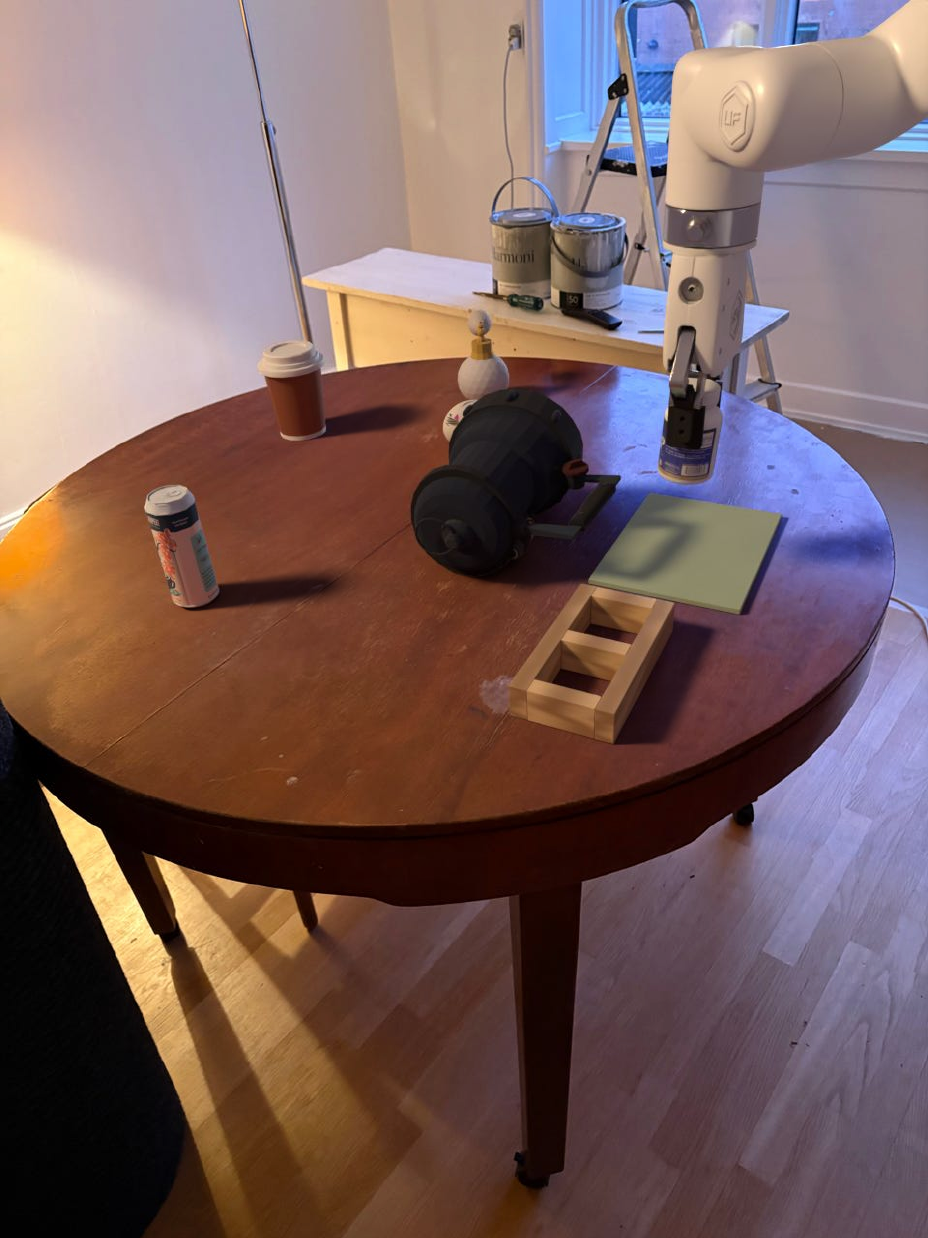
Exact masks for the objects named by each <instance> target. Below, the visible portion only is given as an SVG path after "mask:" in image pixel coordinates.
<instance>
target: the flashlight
mask: <svg viewBox="0 0 928 1238" xmlns="http://www.w3.org/2000/svg"><path fill="white" fill-rule="evenodd" d="M463 416H464V417H463V418H462V420H461V421H460V422H459V424H458V425H457V426H456V428H455V429H454V430H453V433H452V436H451V439H450V442H449V441H448V442H449V443H448V464H444V465H440V466H438V467H435V468H433V469H432V470H430V471H429V472H428V473H426V475H424V476H423V477H422V479H421V480H420V482H419V483H418V485H417V486H416V489H415V490H414V491H413V493H412V498H411V502H410V521H411V525H412V530H413V533H414V538H415V540H416V542H417V544H418V545H419V546H420V547H421V549H422V550H424V552H425V553H426V554H427V555H428V556H429V557H430V558H431V559H432V560H433V561H435V562H436V564H438V565H440V566H442V567H443V568H444V569H447V570H448V571H450V572H452V573H455V574H458V575H461V576H468V577H482V576H489V575H491V574H492V573H495V572H496V571H499V570H500V569H501V568H505V567H506V566H507V565H508V564H509V562H510V561H517V560H519V559H520V558H521V557H522V555H523V554H524V553H526V551H527V550H528V548H529V546H530V544H531V542H532V539H533V538H534V536H537V537H545V538H555V539H565V540H575V538H576V537H577V536H578V535H579V533H581V532H585V531H586V530H587V529H588V528H589V526H590V525H591V524H592V522H594V520H595V519H596V517H597V516H598V514H599V513H600V512H601V511H602V510H603V508H604V507H605V506H606V505H607V503H608V502H609V501H610V500H611V499H612V498H613V496H614V495H615V493H616V491H617V485H618V484H619V483H620V481H621V480H622V476H621V474H589V470H590V467H589V466H590V465H589V463H587V462H586V461H583V456H584V442H583V438H582V435H581V431H580V429H579V427H578V426H577V424H576V422H575V420H574V418H573V417H572V416H571V415H570V414H569V413H568V412H567V411H566V409H564V407H563V406H561V405H560V404H558V403H557V402H556V401H554V400H553V399H551V398H550V397H548V396H545V395H544V394H541V393H538V392H536V391H533V390H528V389H522V388H517V387H516V388H507V389H503V390H498V391H495V392H492V393H489V394H487V395H484V396H483V397H482V398H480V399H479V400H477V401H476V402H475V403H473V405H468V406H467V407H466V408H465V410H464V411H463ZM586 483H590V484H592V483H593V484H597V485H596V486H595V487H594V488H593V489H592V490H591V491H590V492H589V493H588V494H587V496H586V497H585V498H584V500H583V501H582V503H581V504H580V507H579V508H578V510H577V511H576V512H575V513H574V514H573V516H571V518H570V520H569V522H568V525H560V524H550V523H549V524H547V523H536V521H535V520H533V519H532V518H531V517H532V516H534V515H539V514H541V513H544V512H546V511H548V510H551V509H552V508H554V506H556V505H557V504H560V503H561V502H562V501H563V499H564V497H565V496H566V495H567V493H568V491H569V490H572V491H579V490H582V489H584V488H585V485H586Z"/></svg>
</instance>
